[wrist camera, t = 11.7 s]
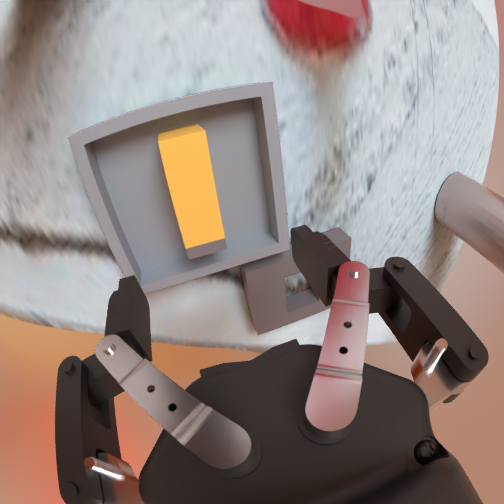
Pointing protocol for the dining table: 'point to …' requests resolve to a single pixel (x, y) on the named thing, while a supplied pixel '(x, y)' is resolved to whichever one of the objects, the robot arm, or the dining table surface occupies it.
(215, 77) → the dining table surface
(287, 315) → the socket plate
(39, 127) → the dining table surface
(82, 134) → the grey tray
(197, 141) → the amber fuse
